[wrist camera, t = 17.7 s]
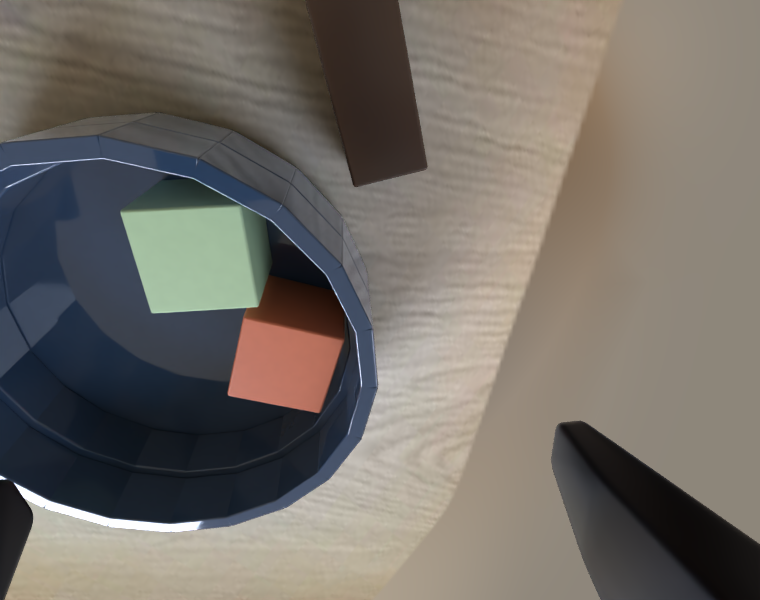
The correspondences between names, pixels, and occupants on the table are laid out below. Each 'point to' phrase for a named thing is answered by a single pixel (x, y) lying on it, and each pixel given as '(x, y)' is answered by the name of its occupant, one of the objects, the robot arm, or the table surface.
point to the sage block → (197, 248)
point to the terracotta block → (289, 346)
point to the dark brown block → (369, 86)
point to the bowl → (158, 334)
